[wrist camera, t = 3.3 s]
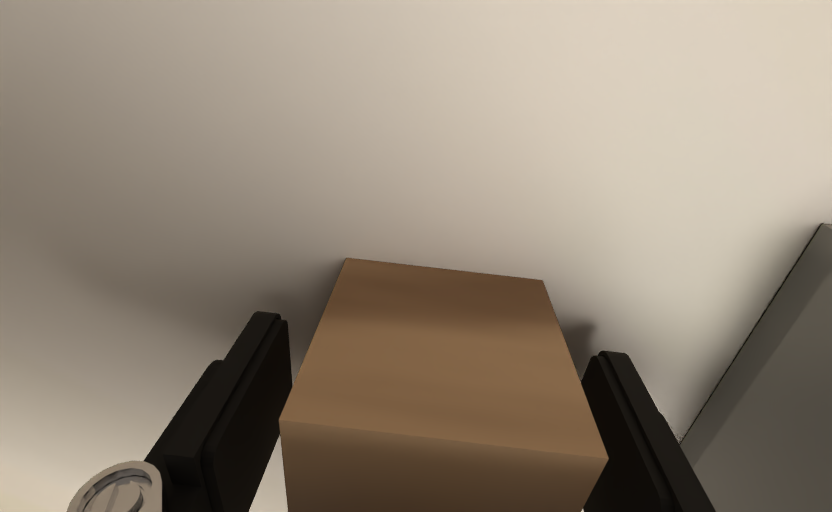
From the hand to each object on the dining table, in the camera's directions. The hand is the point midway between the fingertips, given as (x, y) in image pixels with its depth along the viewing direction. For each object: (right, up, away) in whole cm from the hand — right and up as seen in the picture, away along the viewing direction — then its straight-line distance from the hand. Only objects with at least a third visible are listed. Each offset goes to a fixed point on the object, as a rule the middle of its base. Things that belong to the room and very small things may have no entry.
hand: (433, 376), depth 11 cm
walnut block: (0, +1, +1) cm, 1 cm away
